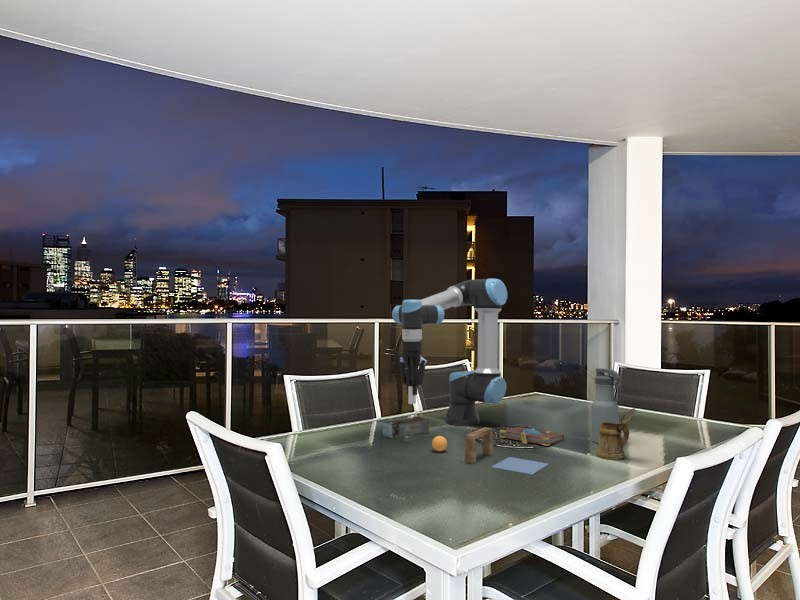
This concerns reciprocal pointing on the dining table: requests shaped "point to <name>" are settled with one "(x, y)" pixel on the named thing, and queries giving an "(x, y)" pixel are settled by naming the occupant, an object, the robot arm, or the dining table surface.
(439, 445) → the ball
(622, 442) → the wooden mug
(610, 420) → the water bottle
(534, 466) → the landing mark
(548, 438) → the book
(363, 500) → the dining table surface
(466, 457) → the bridge
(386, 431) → the beverage carton
